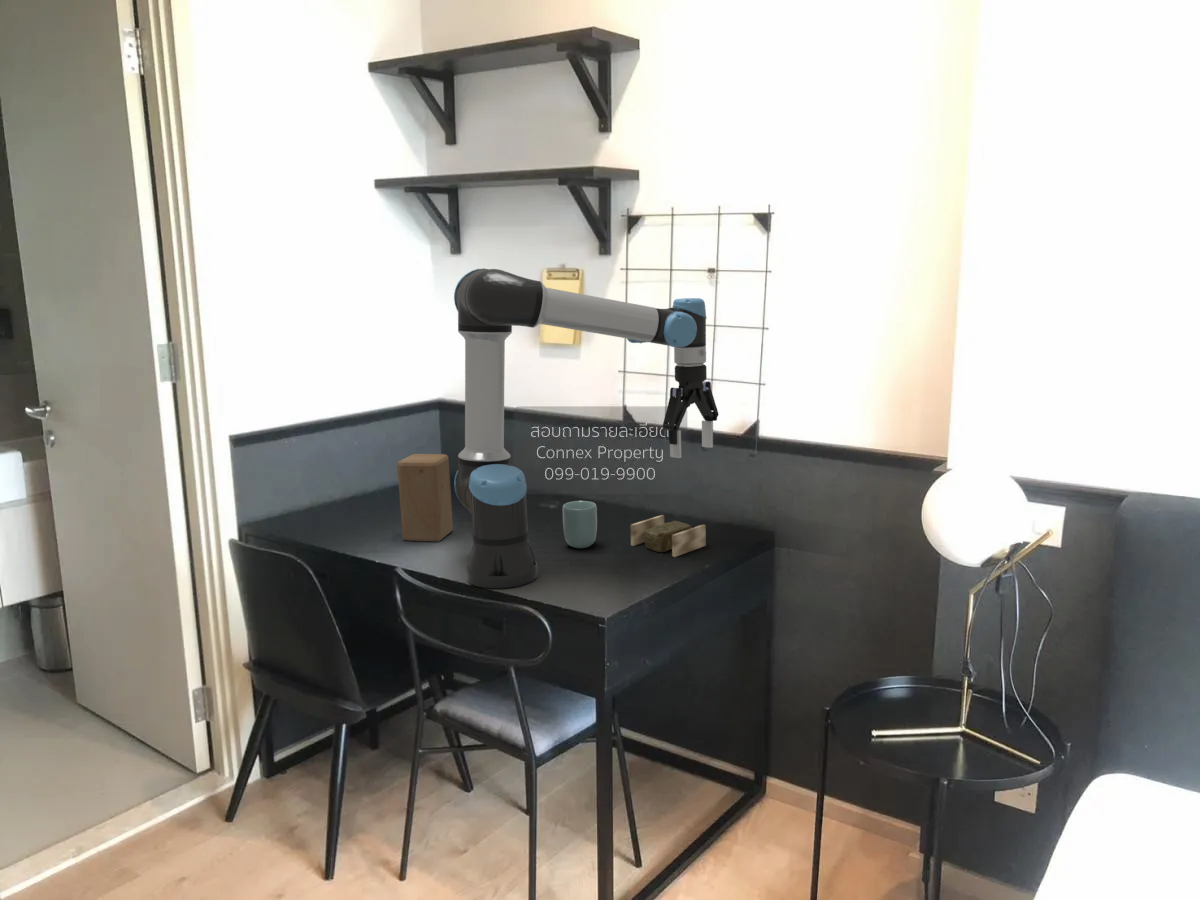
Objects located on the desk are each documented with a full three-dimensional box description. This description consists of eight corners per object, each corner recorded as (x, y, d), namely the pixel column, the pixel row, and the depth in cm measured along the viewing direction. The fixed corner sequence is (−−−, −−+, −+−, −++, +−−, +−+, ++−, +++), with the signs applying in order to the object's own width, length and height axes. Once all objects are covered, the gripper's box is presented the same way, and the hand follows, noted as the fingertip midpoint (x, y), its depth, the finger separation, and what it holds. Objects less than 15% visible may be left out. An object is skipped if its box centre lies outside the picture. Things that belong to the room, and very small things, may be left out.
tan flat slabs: (674, 557, 206) (674, 535, 205) (630, 545, 216) (630, 524, 215) (705, 545, 214) (705, 525, 213) (662, 534, 223) (661, 514, 222)
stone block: (643, 549, 213) (642, 528, 212) (675, 538, 221) (675, 518, 220) (661, 554, 209) (661, 533, 208) (694, 543, 217) (694, 523, 216)
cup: (579, 539, 222) (577, 499, 220) (604, 544, 217) (602, 503, 215) (557, 547, 216) (555, 506, 214) (582, 553, 211) (581, 511, 209)
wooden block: (439, 542, 222) (434, 462, 218) (401, 541, 224) (395, 461, 220) (454, 531, 232) (449, 453, 228) (417, 529, 234) (411, 452, 230)
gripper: (672, 371, 205) (674, 463, 210) (732, 359, 224) (732, 444, 228) (646, 369, 210) (648, 460, 215) (706, 358, 229) (707, 441, 233)
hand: (691, 452), depth 221 cm, fingers open, 13 cm apart
